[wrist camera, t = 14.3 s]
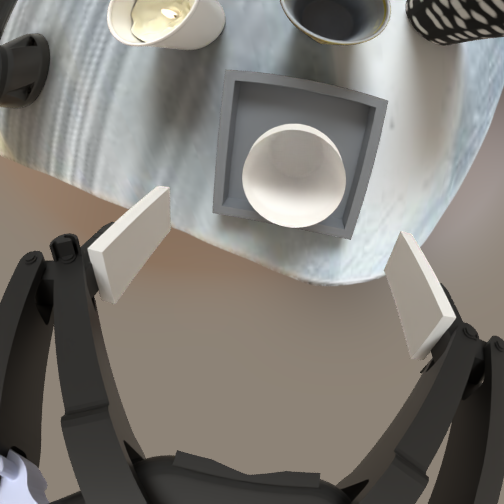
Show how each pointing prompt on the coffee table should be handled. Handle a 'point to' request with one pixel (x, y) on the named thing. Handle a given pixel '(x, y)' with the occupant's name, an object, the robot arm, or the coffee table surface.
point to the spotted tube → (456, 19)
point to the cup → (294, 176)
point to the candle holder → (166, 22)
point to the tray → (296, 112)
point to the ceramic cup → (339, 19)
